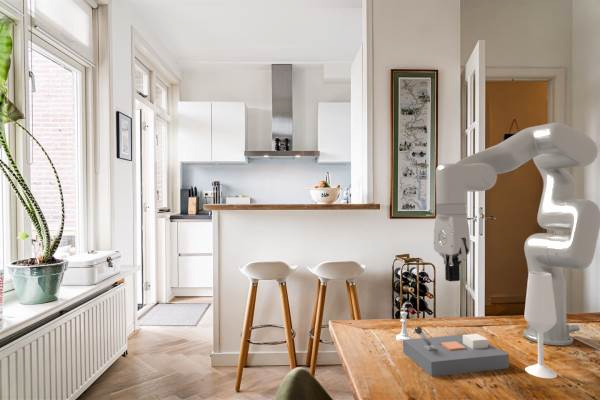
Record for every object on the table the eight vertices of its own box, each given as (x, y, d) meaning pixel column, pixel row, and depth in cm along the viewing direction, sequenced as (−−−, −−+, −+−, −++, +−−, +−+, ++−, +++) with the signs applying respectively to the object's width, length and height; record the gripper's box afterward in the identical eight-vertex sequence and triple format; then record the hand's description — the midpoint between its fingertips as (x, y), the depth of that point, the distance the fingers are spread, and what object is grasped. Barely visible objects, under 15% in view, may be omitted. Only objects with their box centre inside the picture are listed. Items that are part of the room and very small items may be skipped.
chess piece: (413, 342, 115) (413, 308, 115) (396, 341, 116) (395, 308, 116) (412, 336, 119) (411, 304, 119) (395, 335, 120) (395, 303, 120)
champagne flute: (524, 364, 99) (523, 270, 99) (556, 369, 95) (555, 272, 95) (524, 374, 93) (523, 274, 93) (558, 380, 90) (557, 277, 90)
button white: (477, 342, 106) (477, 333, 106) (488, 348, 101) (487, 339, 101) (462, 344, 105) (462, 334, 105) (473, 350, 100) (472, 340, 100)
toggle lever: (431, 342, 102) (417, 324, 101) (434, 344, 100) (420, 326, 99) (426, 346, 101) (412, 328, 101) (429, 349, 100) (415, 331, 99)
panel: (471, 346, 111) (471, 332, 111) (508, 368, 96) (508, 352, 96) (403, 352, 107) (403, 338, 107) (431, 376, 92) (431, 360, 92)
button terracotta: (455, 350, 104) (455, 341, 104) (465, 357, 100) (465, 347, 100) (440, 352, 104) (440, 342, 104) (450, 358, 99) (450, 348, 99)
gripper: (424, 210, 109) (425, 275, 109) (455, 212, 94) (456, 287, 94) (448, 209, 110) (449, 274, 110) (482, 211, 95) (484, 285, 95)
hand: (452, 280), depth 102 cm, fingers closed
